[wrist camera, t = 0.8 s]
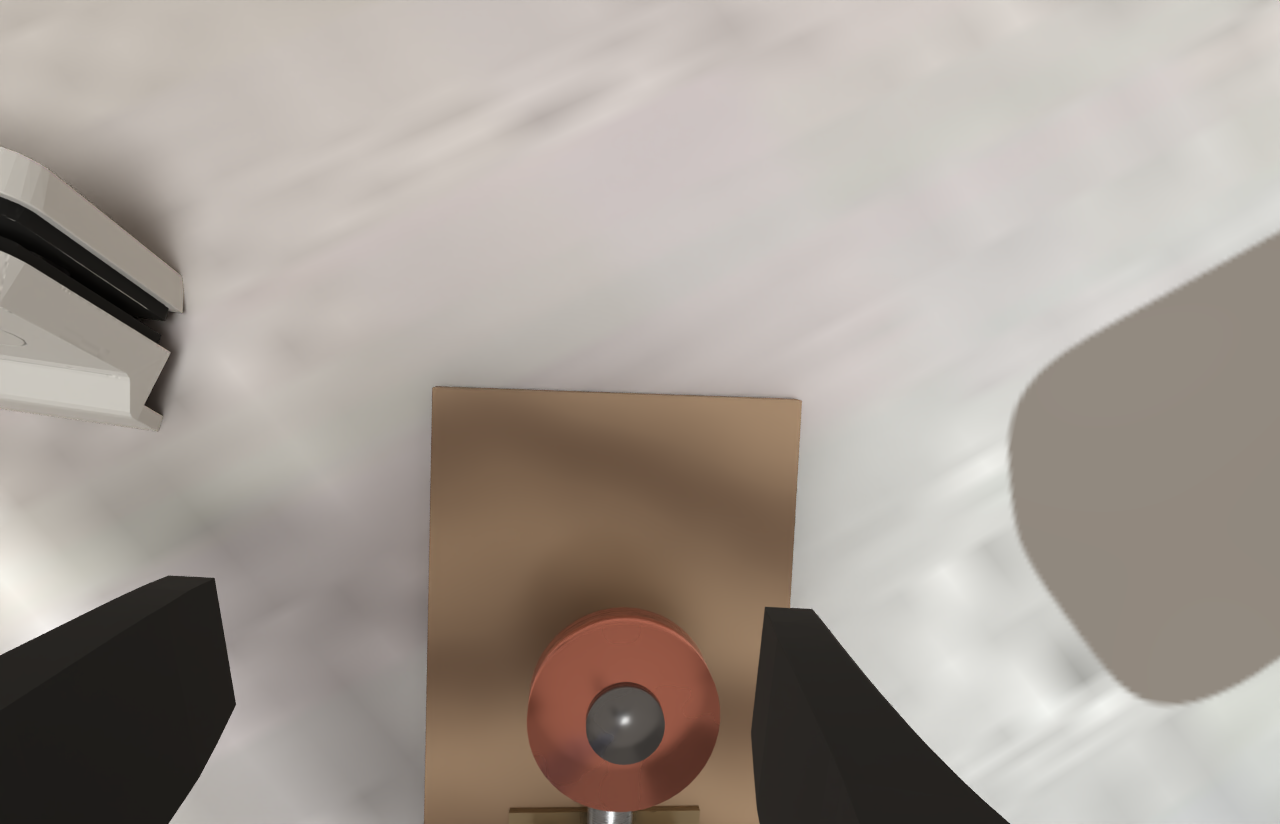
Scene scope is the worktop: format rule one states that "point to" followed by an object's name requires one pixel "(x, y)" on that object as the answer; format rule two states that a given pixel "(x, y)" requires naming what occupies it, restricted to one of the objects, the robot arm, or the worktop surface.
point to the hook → (622, 712)
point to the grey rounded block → (76, 304)
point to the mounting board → (596, 567)
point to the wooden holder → (573, 820)
